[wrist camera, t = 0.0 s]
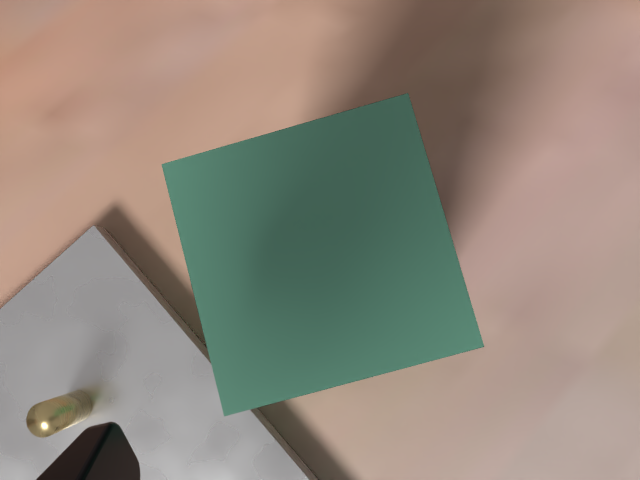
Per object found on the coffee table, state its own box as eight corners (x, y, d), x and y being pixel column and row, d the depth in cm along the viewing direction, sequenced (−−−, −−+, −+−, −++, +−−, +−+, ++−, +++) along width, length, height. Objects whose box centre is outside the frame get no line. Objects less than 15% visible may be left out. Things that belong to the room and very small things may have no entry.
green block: (418, 318, 23) (484, 346, 11) (297, 351, 23) (223, 416, 11) (384, 197, 24) (408, 93, 11) (265, 231, 24) (161, 164, 12)
